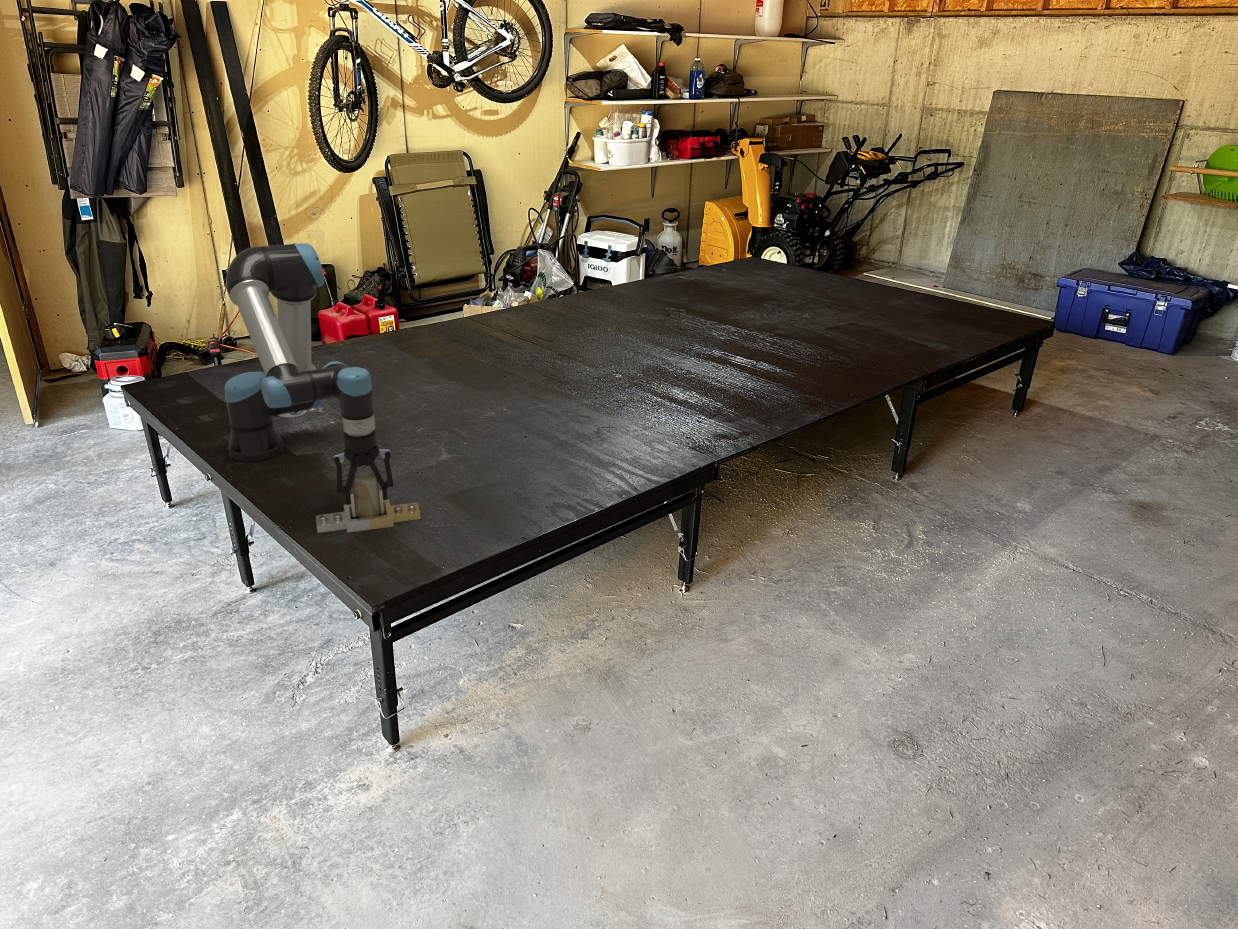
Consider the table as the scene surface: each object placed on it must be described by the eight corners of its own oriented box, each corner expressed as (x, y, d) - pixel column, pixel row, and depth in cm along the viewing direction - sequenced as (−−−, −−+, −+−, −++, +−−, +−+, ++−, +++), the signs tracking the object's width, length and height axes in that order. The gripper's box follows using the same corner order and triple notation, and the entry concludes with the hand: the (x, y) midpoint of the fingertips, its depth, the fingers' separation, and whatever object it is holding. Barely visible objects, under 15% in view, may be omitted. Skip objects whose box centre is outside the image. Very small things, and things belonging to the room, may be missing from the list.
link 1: (317, 536, 207) (316, 526, 206) (316, 518, 215) (315, 508, 214) (370, 529, 211) (369, 519, 210) (367, 512, 219) (366, 502, 218)
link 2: (370, 529, 211) (369, 519, 210) (367, 512, 219) (366, 502, 218) (421, 522, 216) (420, 512, 214) (416, 505, 223) (415, 495, 222)
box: (355, 516, 214) (349, 477, 209) (365, 508, 217) (360, 470, 212) (372, 520, 212) (367, 481, 207) (382, 512, 216) (377, 474, 211)
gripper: (318, 441, 198) (329, 525, 208) (401, 432, 204) (408, 514, 214) (317, 428, 204) (328, 510, 214) (398, 420, 211) (404, 501, 221)
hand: (368, 512), depth 214 cm, fingers closed on box, 6 cm apart
